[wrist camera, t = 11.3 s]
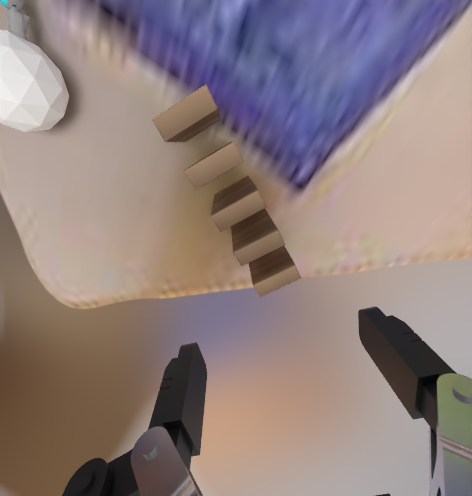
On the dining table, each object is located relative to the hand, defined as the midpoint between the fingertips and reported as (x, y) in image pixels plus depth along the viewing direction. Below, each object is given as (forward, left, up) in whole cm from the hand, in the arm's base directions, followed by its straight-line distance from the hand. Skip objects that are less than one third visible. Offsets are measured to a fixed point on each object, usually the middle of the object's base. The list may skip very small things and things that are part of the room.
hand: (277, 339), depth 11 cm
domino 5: (+6, 0, -23) cm, 23 cm away
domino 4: (+1, 0, -23) cm, 23 cm away
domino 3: (-3, 0, -23) cm, 23 cm away
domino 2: (-8, 0, -23) cm, 24 cm away
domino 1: (-12, 0, -23) cm, 26 cm away
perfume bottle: (-24, -12, -23) cm, 35 cm away
